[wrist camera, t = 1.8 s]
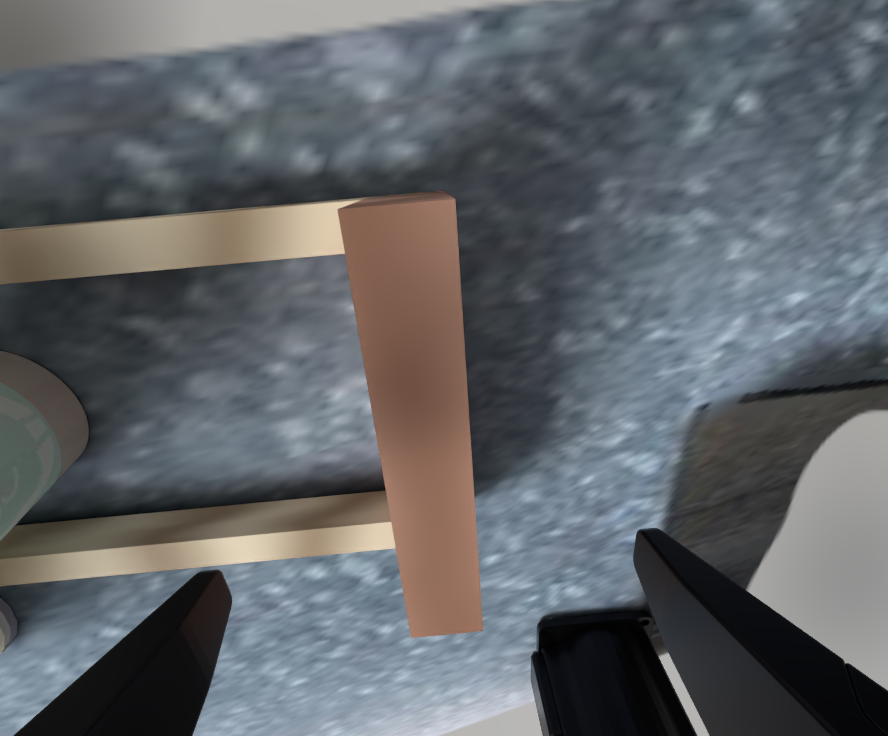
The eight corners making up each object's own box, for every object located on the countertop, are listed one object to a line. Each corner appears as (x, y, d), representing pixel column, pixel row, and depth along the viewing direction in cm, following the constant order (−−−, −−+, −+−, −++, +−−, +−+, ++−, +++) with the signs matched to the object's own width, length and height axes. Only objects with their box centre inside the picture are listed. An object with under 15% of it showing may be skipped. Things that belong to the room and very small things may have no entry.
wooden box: (442, 190, 14) (455, 198, 9) (466, 507, 20) (483, 630, 15) (-311, 256, 14) (-769, 307, 9) (-69, 559, 20) (-254, 703, 15)
